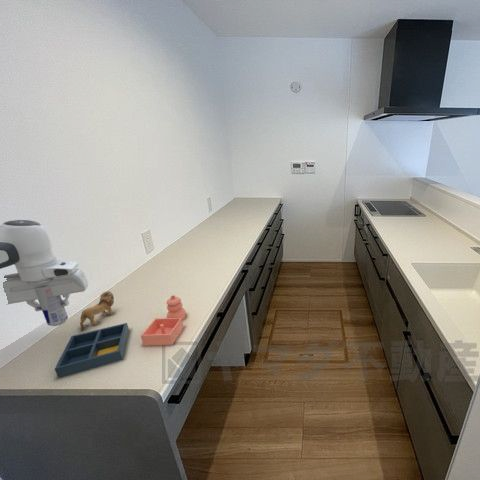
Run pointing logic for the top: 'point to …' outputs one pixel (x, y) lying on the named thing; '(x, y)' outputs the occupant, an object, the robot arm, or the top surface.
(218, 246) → the top surface
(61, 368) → the grid
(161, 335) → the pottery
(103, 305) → the lion figurine
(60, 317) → the beverage can
